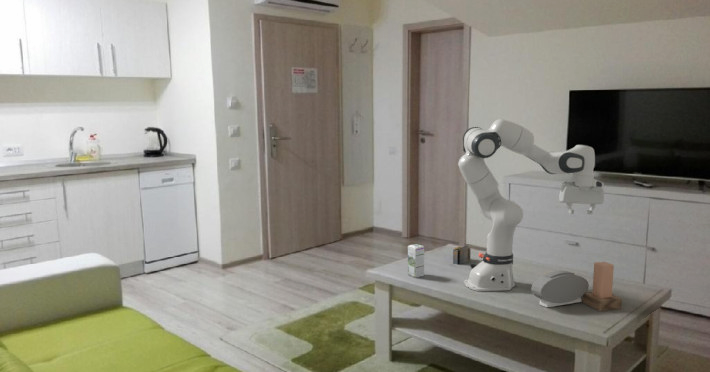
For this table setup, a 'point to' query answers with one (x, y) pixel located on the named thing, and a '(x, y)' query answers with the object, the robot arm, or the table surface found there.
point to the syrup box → (416, 260)
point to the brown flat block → (461, 254)
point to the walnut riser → (602, 302)
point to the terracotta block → (603, 279)
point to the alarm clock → (559, 288)
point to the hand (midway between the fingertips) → (580, 214)
